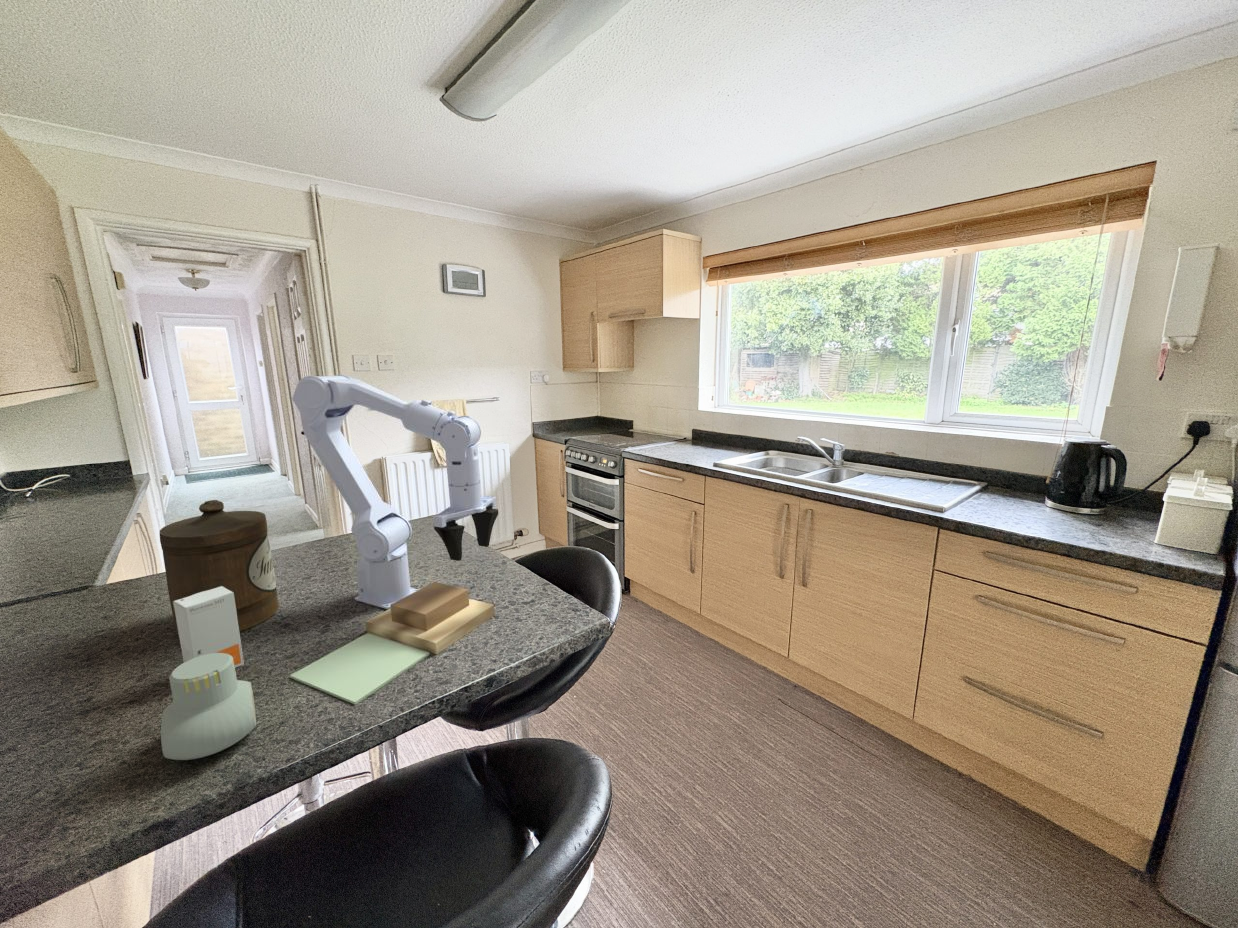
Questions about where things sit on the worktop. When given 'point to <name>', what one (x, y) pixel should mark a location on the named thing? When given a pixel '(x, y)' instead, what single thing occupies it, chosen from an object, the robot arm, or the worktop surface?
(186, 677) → the air freshener
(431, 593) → the walnut tile
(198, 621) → the skincare box
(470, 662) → the worktop surface
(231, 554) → the wooden container
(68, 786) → the worktop surface
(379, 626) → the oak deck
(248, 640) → the worktop surface
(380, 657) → the sage mat
